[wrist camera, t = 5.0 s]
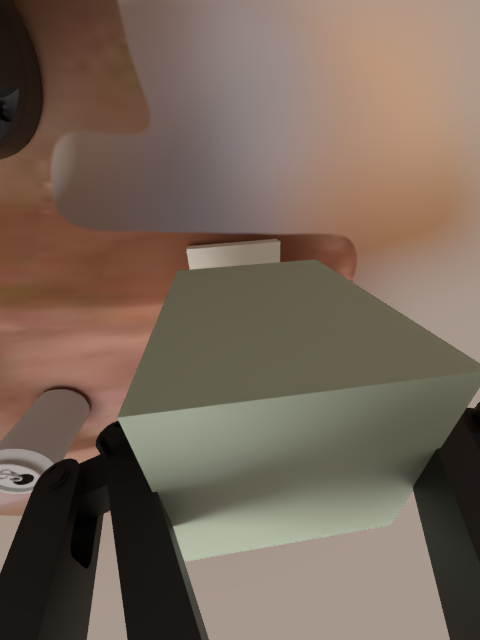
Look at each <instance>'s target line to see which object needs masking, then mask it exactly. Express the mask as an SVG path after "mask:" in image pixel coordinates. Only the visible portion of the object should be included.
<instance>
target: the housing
mask: <svg viewBox="0 0 480 640" xmlns="http://www.w3.org/2000/svg"><path fill="white" fill-rule="evenodd" d="M479 387H480V363H478V362H477V361H475V360H474V359H472V358H470V357H469V356H467V355H466V354H464V353H463V352H461V351H459V350H458V349H456V348H455V347H453V346H452V345H450V344H448V343H447V342H445V341H444V340H442V339H441V338H439V337H437V336H436V335H434V334H433V333H431V332H430V331H428V330H426V329H425V328H423V327H422V326H420V325H419V324H417V323H415V322H414V321H412V320H410V319H409V318H408V317H406V316H404V315H403V314H401V313H400V312H398V311H396V310H395V309H393V308H392V307H390V306H389V305H387V304H386V303H384V302H382V301H381V300H379V299H378V298H376V297H374V296H373V295H371V294H370V293H368V292H367V291H365V290H364V289H362V288H360V287H359V286H357V285H356V284H354V283H353V282H351V281H349V280H348V279H346V278H345V277H343V276H342V275H340V274H338V273H337V272H335V271H334V270H332V269H331V268H329V267H327V266H326V265H324V264H323V263H321V262H320V261H318V260H316V259H314V260H301V261H289V262H277V263H264V264H252V265H240V266H228V267H215V268H203V269H191V270H178V271H177V273H176V275H175V278H174V280H173V282H172V285H171V287H170V290H169V292H168V295H167V297H166V300H165V302H164V304H163V307H162V309H161V312H160V314H159V317H158V319H157V322H156V324H155V327H154V329H153V331H152V334H151V336H150V339H149V341H148V344H147V346H146V349H145V351H144V353H143V356H142V358H141V361H140V363H139V366H138V368H137V371H136V373H135V375H134V378H133V380H132V383H131V385H130V388H129V390H128V393H127V395H126V398H125V400H124V402H123V405H122V407H121V410H120V412H119V415H118V417H117V418H118V420H119V422H120V425H121V427H122V429H123V431H124V433H125V435H126V437H127V439H128V441H129V444H130V446H131V448H132V450H133V452H134V454H135V456H136V458H137V460H138V463H139V465H140V467H141V469H142V471H143V473H144V475H145V477H146V479H147V482H148V484H149V486H150V488H151V490H152V492H158V495H159V497H160V499H161V501H162V503H163V506H164V508H165V510H166V512H167V514H168V517H169V519H170V521H171V523H172V526H173V528H174V531H175V535H176V538H177V541H178V544H179V547H180V550H181V553H182V555H183V558H184V560H185V561H191V560H197V559H202V558H208V557H213V556H219V555H225V554H231V553H236V552H242V551H248V550H253V549H258V548H264V547H270V546H275V545H281V544H287V543H292V542H298V541H304V540H309V539H315V538H321V537H327V536H332V535H338V534H343V533H349V532H355V531H361V530H366V529H371V528H377V527H383V526H389V525H391V524H392V523H393V521H394V520H395V518H396V517H397V515H398V513H399V512H400V510H401V509H402V507H403V506H404V504H405V503H406V501H407V499H408V498H409V496H410V495H411V493H412V492H413V486H414V484H415V482H416V481H417V479H418V478H419V476H420V474H421V473H422V471H423V470H424V468H425V466H426V465H427V463H428V462H429V460H430V459H431V457H432V455H433V454H434V452H435V451H436V449H438V448H441V447H442V445H443V444H444V442H445V440H446V439H447V437H448V436H449V434H450V433H451V431H452V430H453V428H454V426H455V425H456V423H457V422H458V420H459V419H460V417H461V416H462V414H463V412H464V411H465V409H466V408H467V406H468V405H469V403H470V402H471V400H472V398H473V397H474V395H475V394H476V392H477V391H478V389H479Z"/></svg>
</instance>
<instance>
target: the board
mask: <svg viewBox="0 0 480 640" xmlns="http://www.w3.org/2000/svg"><path fill="white" fill-rule="evenodd" d="M186 250H187V256H188V262H189V268H190V270H191V269H203V268H215V267H228V266H240V265H252V264H264V263H277V262H280V241H279V240H277V239H268V240H255V241H243V242H231V243H219V244H207V245H194V246H188V247H187V249H186Z"/></svg>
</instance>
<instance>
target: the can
mask: <svg viewBox="0 0 480 640" xmlns="http://www.w3.org/2000/svg"><path fill="white" fill-rule="evenodd" d="M89 411H90V409H89V405H88V403H87V401H86V400H85V398H84V397H83V396H82V395H80V394H79V393H77V392H75V391H72V390H68V389H59V390H57V389H56V390H50V391H47V392H45V393H42V394H41V395H40V396H39V398H38V399H37V400H36V401H35V402H34V403H33V405H32V406H31V407H30V408H29V409H28V410H27V412H26V413H25V414H24V415H23V416H22V417H21V419H20V420H19V421H18V422H17V423H16V424H15V426H14V427H13V428H12V429H11V430H10V431H9V433H8V434H7V435H6V436H5V437H4V438H3V440H2V441H1V442H0V492H3V493H10V494H25V493H30V492H32V490H33V488H34V485H35V484H36V482H37V480H38V478H39V477H40V476H41V475H42V474H43V473H44V472H45V470H47V469H48V468H49V467H51V466H52V465H53V464H55V463H57V462H59V461H61V460H63V458H64V457H65V455H66V453H67V451H68V450H69V448H70V446H71V444H72V442H73V441H74V439H75V437H76V435H77V434H78V432H79V430H80V428H81V426H82V425H83V423H84V421H85V419H86V418H87V416H88V414H89Z"/></svg>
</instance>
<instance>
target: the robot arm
mask: <svg viewBox="0 0 480 640" xmlns="http://www.w3.org/2000/svg"><path fill="white" fill-rule="evenodd" d="M41 101H42V90H41V80H40V73H39V68H38V63H37V59H36V56H35V52H34V49H33V46H32V43H31V40H30V38H29V35H28V33H27V30H26V28H25V26H24V23H23V21H22V19H21V17H20V15H19V13H18V11H17V9H16V8H15V6H14V4H13V2H12V0H0V159H2V158H5V157H8V156H10V155H12V154H14V153H16V152H17V151H19V150H20V149H21V148H22V147H24V146H25V145H26V143H27V142H28V141H29V140H30V138H31V137H32V135H33V133H34V131H35V129H36V127H37V124H38V121H39V117H40V111H41ZM96 447H97V449H98V451H99V452H100V455H98V456H96V457H94V458H91V459H89V460H87V461H84V462H82V463H80V464H79V463H78V462H77V461H76V460H74V459H71V458H70V459H64V460H61V461H59V462H57V463H55V464H53V465H52V466H51V467H49V468H48V469H47V470H45V472H44V473H43V474H42V475H41V476H40V477H39V478H38V480H37V482H36V484H35V485H34V488H33V490H32V493H31V496H30V498H29V501H28V503H27V506H26V509H25V511H24V514H23V516H22V519H21V521H20V524H19V527H18V529H17V532H16V534H15V537H14V540H13V542H12V545H11V547H10V550H9V552H8V555H7V558H6V560H5V563H4V565H3V568H2V571H1V573H0V640H87V633H88V625H89V618H90V611H91V603H92V596H93V588H94V580H95V573H96V566H97V559H98V552H99V544H100V537H101V529H102V521H103V515H104V513H106V512H108V511H110V510H111V516H112V525H113V532H114V539H115V548H116V555H117V563H118V570H119V578H120V585H121V593H122V600H123V608H124V615H125V623H126V630H127V638H128V640H209V639H208V635H207V633H206V629H205V626H204V623H203V620H202V617H201V613H200V610H199V607H198V604H197V601H196V598H195V594H194V591H193V588H192V585H191V582H190V579H189V575H188V572H187V569H186V566H185V563H184V560H183V557H182V553H181V550H180V547H179V544H178V541H177V538H176V535H175V531H174V528H173V526H172V523H171V521H170V519H169V517H168V514H167V512H166V510H165V508H164V506H163V503H162V501H161V499H160V497H159V495H158V492H152V490H151V488H150V486H149V484H148V482H147V479H146V477H145V475H144V473H143V471H142V469H141V467H140V465H139V463H138V460H137V458H136V456H135V454H134V452H133V450H132V448H131V446H130V444H129V441H128V439H127V437H126V435H125V433H124V431H123V429H122V427H121V425H120V422H119V421H116V422H113V423H112V424H110V425H109V426H107V427H106V428H105V429H104V430H103V431H102V432H101V433H100V434H99V436H98V438H97V440H96ZM413 491H414V495H415V499H416V502H417V507H418V511H419V515H420V519H421V523H422V527H423V531H424V536H425V540H426V544H427V547H428V552H429V556H430V560H431V564H432V568H433V572H434V575H435V580H436V584H437V588H438V592H439V596H440V601H441V604H442V609H443V612H444V617H445V621H446V625H447V629H448V633H449V637H450V640H480V402H479V403H478V404H477V406H476V407H475V409H474V408H466V409H465V411H464V412H463V414H462V416H461V417H460V419H459V420H458V422H457V423H456V425H455V426H454V428H453V430H452V431H451V433H450V434H449V436H448V437H447V439H446V440H445V442H444V444H443V445H442V447H441V448H438V449H436V451H435V452H434V454H433V455H432V457H431V459H430V460H429V462H428V463H427V465H426V466H425V468H424V470H423V471H422V473H421V474H420V476H419V478H418V479H417V481H416V482H415V484H414V486H413Z"/></svg>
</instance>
